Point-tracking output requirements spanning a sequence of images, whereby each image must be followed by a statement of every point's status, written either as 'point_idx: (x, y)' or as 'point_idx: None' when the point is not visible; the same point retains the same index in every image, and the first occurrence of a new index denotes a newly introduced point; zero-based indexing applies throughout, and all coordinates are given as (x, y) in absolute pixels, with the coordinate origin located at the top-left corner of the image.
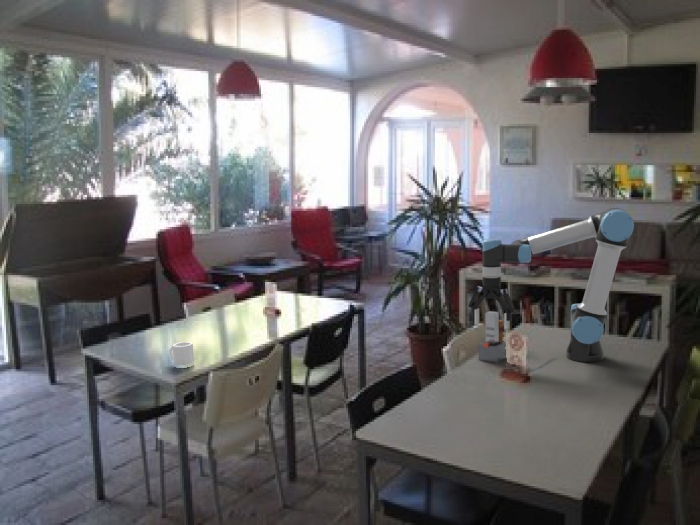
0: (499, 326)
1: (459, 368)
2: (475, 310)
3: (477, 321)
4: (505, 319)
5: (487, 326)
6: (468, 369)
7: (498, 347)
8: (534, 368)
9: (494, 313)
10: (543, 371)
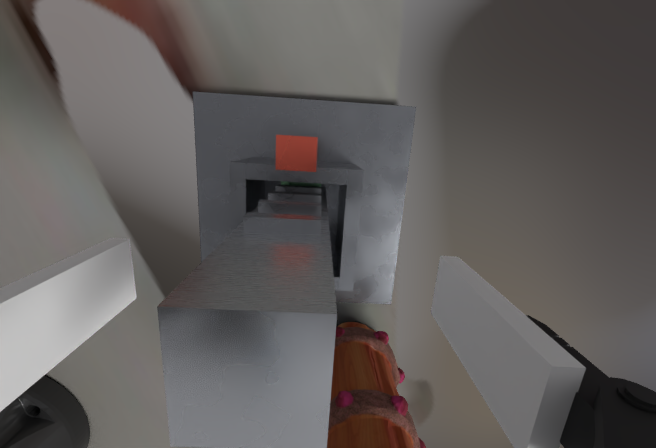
0: (328, 443)
1: (399, 20)
2: (555, 356)
3: (446, 296)
4: (21, 282)
5: (307, 236)
6: (351, 27)
7: (232, 184)
8: (96, 199)
9: (177, 346)
10: (41, 176)
